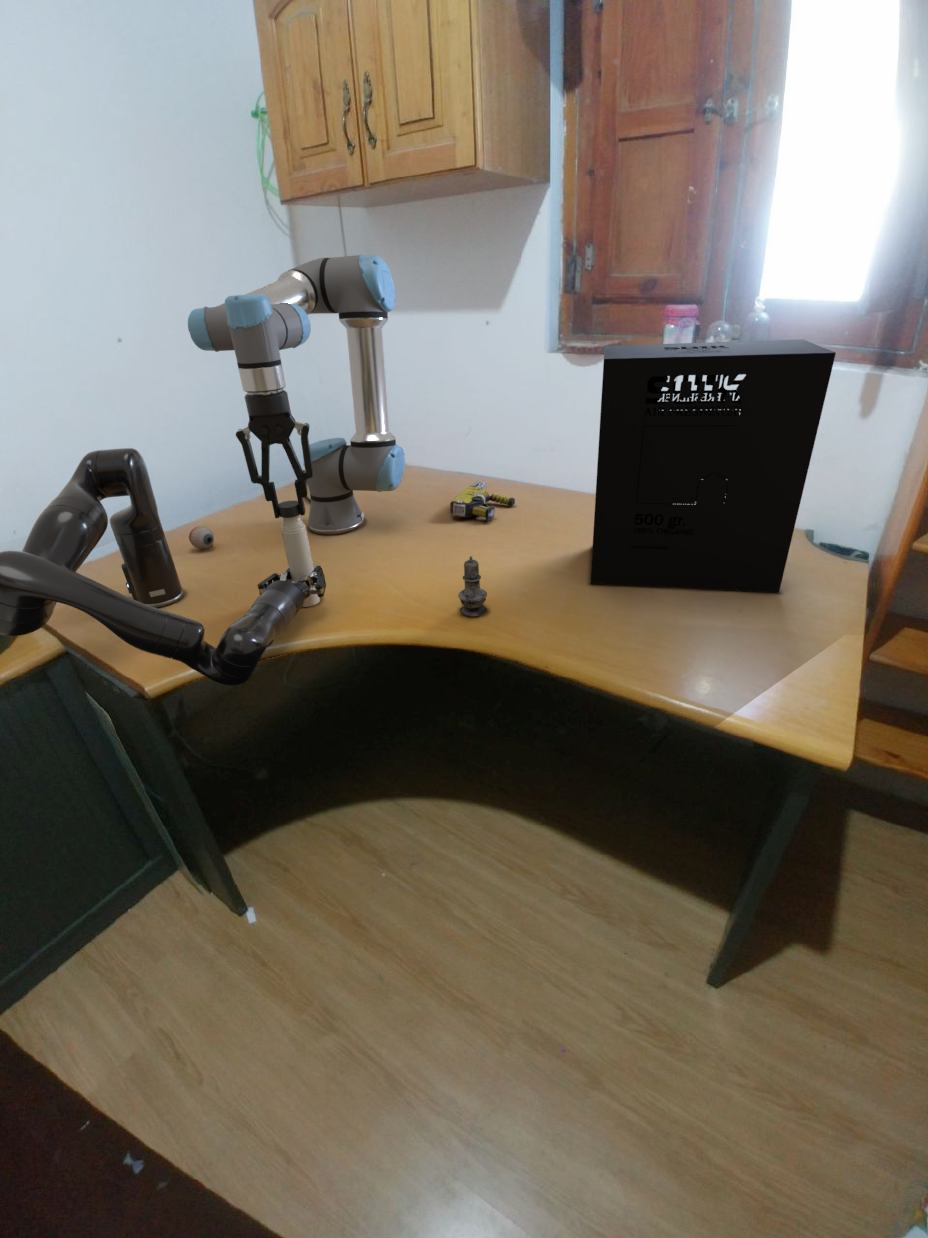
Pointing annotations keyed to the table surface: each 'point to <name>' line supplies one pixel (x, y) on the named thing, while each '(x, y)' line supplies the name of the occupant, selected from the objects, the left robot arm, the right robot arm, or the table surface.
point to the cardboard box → (704, 462)
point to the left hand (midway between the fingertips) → (307, 569)
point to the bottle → (298, 552)
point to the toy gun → (477, 502)
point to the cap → (288, 509)
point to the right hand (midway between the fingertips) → (290, 514)
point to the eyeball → (201, 537)
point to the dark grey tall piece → (472, 590)
